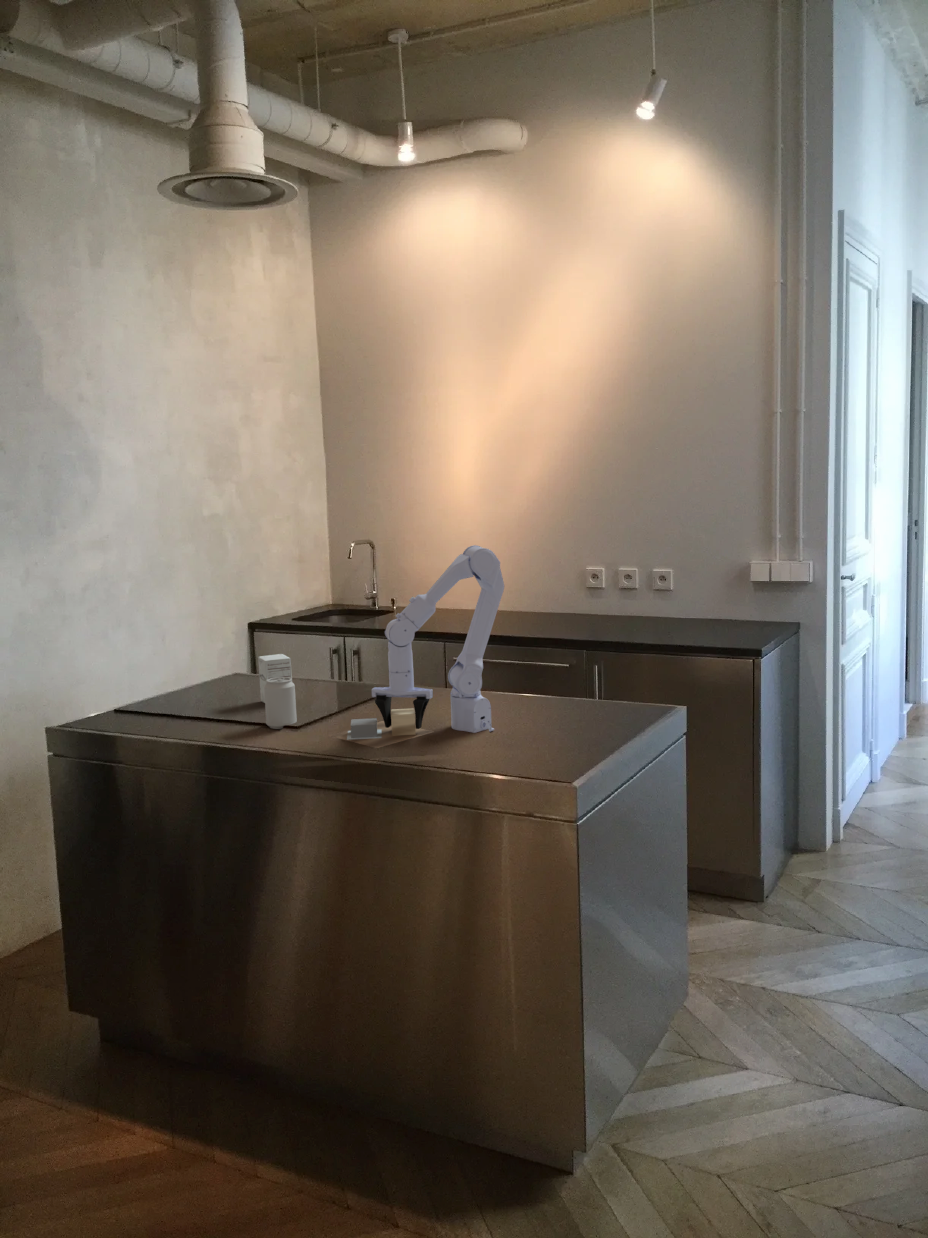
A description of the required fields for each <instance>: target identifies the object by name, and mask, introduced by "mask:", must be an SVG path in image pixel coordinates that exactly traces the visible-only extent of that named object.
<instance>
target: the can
mask: <svg viewBox="0 0 928 1238" xmlns="http://www.w3.org/2000/svg"><path fill="white" fill-rule="evenodd" d="M291 680H292V681H291ZM266 682H267V684H266V685H265V686H264V694H265V703H264V708H265V725H267V726H268V727H269V728H270V729H274V730H282V729H283V728H284V727H285V726H288V725H294V724H296V723H297V722H298V721H297V720H298V718H297V717H298V716H297V702H296V701H297V700H296V698H297V697H296V685H295V683H294V682H293V678H292V679H291V678H289V677H276V678H270V679H268V680H266Z"/></svg>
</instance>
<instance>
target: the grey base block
mask: <svg viewBox="0 0 928 1238" xmlns="http://www.w3.org/2000/svg"><path fill="white" fill-rule="evenodd" d="M377 722H378V719H377V717H376V718H374V717H373V718H356V719H355V718H354V719H353V718H351V720H350V729H351V738H366V737H377Z"/></svg>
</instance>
